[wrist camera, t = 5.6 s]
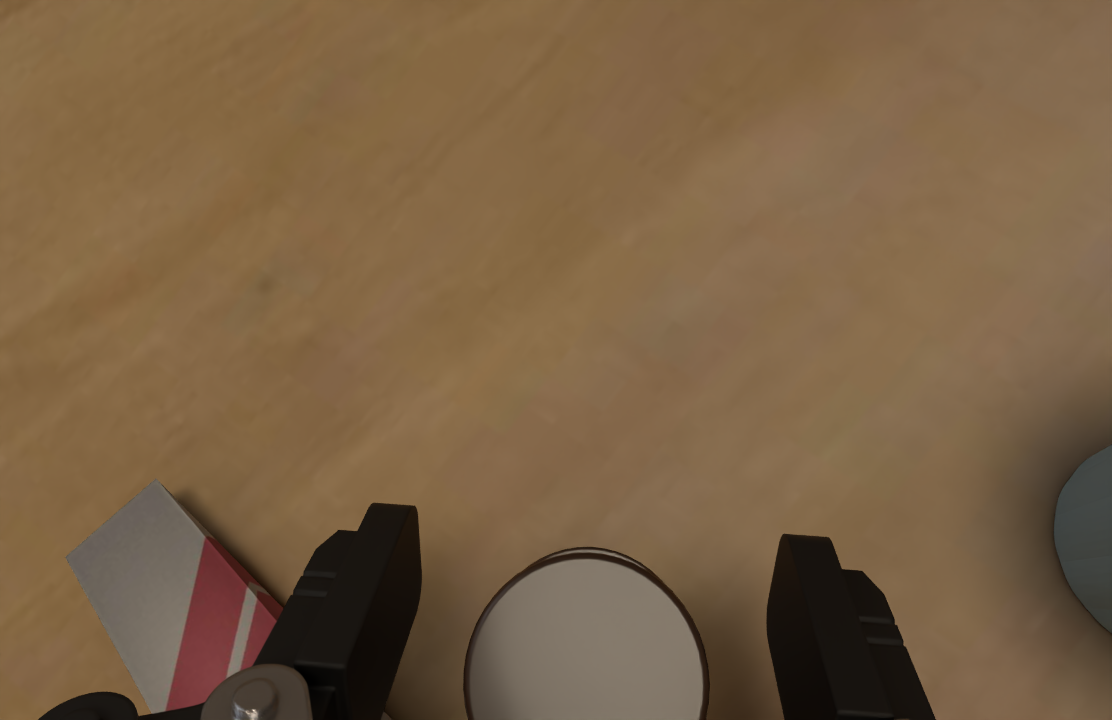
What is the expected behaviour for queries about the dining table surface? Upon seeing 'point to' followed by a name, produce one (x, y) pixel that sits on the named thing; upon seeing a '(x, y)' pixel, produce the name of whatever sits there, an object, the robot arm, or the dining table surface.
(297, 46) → the dining table surface
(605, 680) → the grey brown flanged cylinder
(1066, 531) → the cup
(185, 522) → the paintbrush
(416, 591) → the robot arm
